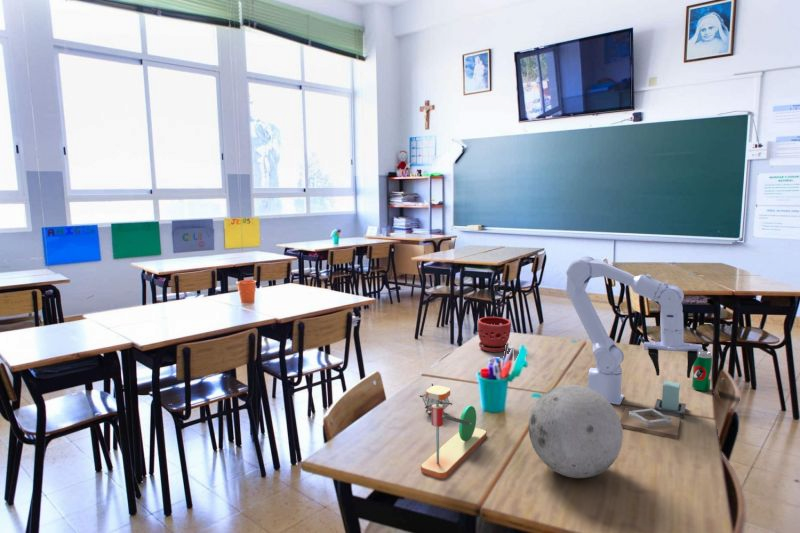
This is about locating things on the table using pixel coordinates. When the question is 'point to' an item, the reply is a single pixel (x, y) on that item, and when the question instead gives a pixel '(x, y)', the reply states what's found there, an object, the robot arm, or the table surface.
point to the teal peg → (670, 395)
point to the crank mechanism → (459, 443)
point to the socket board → (654, 430)
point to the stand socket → (670, 412)
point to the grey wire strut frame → (434, 402)
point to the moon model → (575, 431)
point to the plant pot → (493, 333)
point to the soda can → (702, 371)
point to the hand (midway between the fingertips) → (673, 375)
